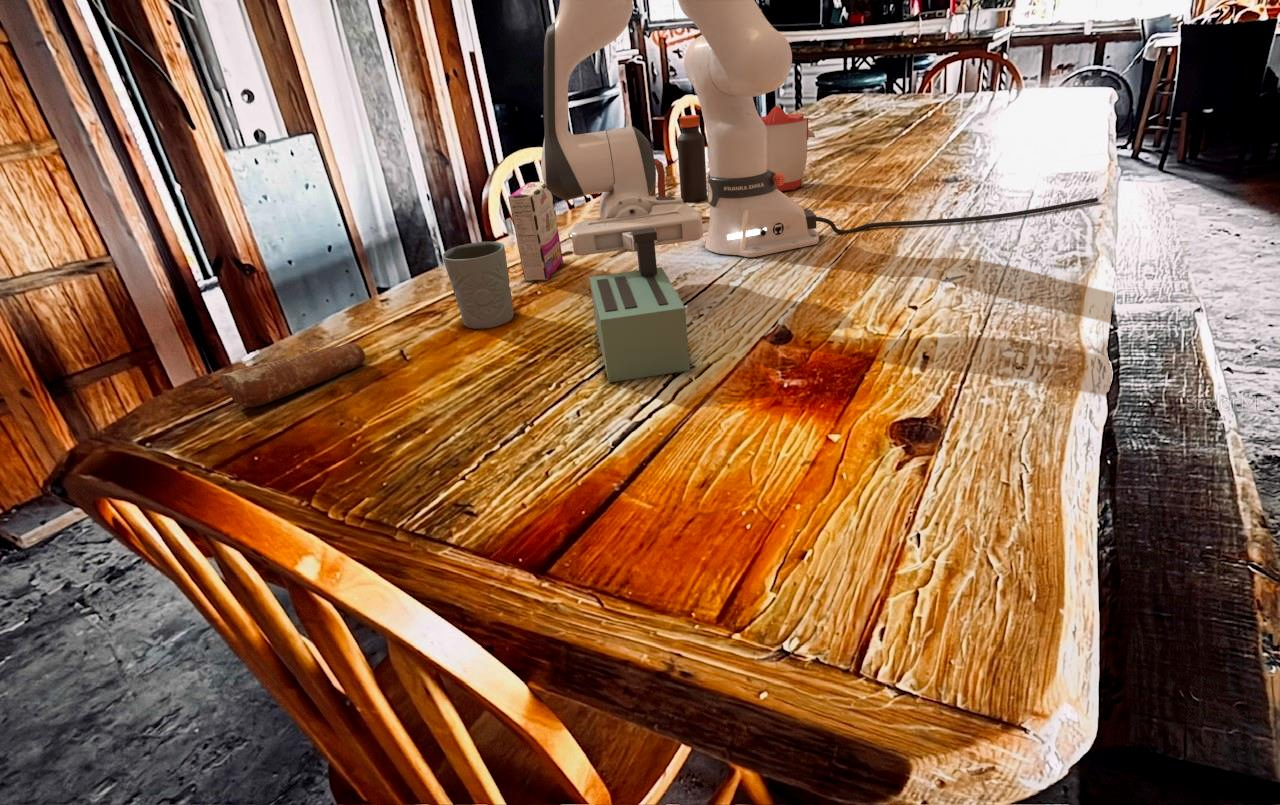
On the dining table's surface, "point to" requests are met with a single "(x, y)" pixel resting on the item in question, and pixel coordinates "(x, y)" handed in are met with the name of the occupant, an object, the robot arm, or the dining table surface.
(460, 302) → the gray embossed cup
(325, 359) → the bread
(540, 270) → the candy bar box
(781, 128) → the citrus juicer
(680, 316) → the toaster
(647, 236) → the slide switch
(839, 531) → the dining table surface
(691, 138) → the bottle
